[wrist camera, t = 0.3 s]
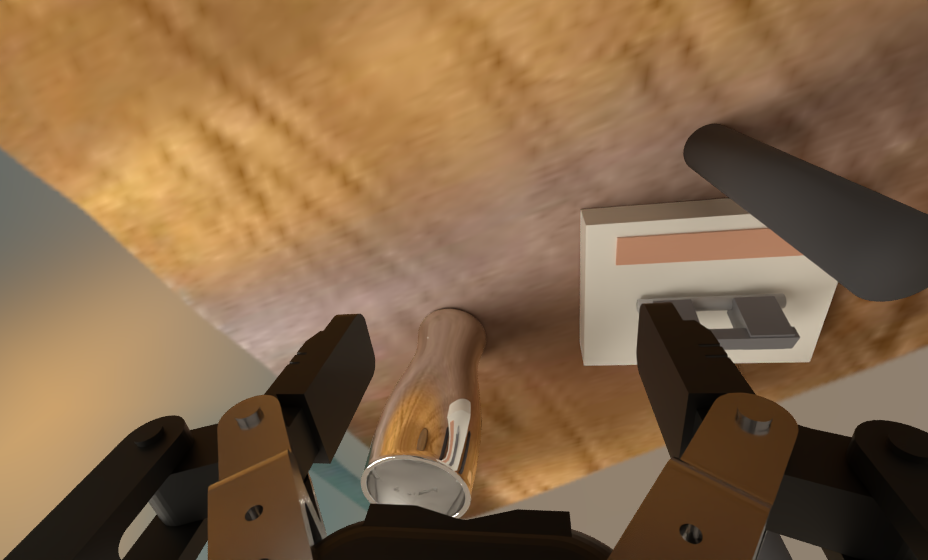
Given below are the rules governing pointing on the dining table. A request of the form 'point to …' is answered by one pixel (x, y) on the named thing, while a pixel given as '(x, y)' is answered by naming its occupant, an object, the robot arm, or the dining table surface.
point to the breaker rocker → (741, 319)
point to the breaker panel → (690, 274)
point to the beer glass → (431, 421)
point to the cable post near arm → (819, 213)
